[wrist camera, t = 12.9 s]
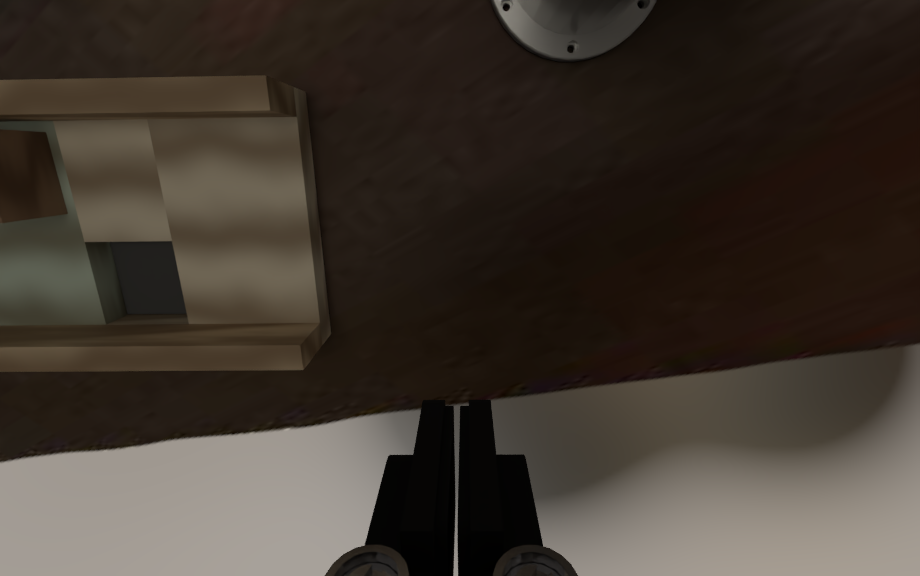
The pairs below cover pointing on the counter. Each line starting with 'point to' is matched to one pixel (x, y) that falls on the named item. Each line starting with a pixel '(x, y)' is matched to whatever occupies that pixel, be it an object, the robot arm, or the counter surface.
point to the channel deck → (167, 226)
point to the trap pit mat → (149, 277)
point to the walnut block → (28, 177)
